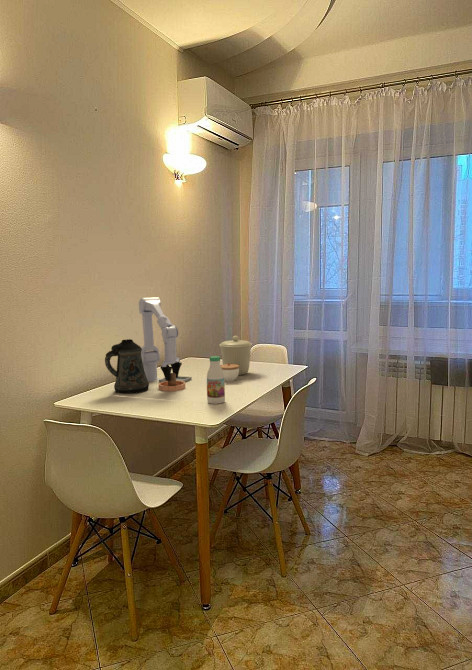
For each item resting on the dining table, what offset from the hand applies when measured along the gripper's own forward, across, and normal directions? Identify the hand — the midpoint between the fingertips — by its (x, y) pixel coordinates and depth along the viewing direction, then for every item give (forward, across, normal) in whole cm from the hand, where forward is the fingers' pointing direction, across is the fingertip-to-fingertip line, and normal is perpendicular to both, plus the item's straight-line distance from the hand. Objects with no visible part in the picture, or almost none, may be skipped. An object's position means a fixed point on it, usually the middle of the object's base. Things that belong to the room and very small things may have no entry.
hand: (171, 378), depth 251 cm
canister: (+5, +43, -16) cm, 46 cm away
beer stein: (+5, -11, +17) cm, 21 cm away
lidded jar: (+5, +26, -19) cm, 33 cm away
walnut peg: (+4, 0, 0) cm, 4 cm away
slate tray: (+5, +14, +6) cm, 16 cm away
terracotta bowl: (+5, 0, 0) cm, 5 cm away
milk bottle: (+5, -16, -31) cm, 35 cm away
